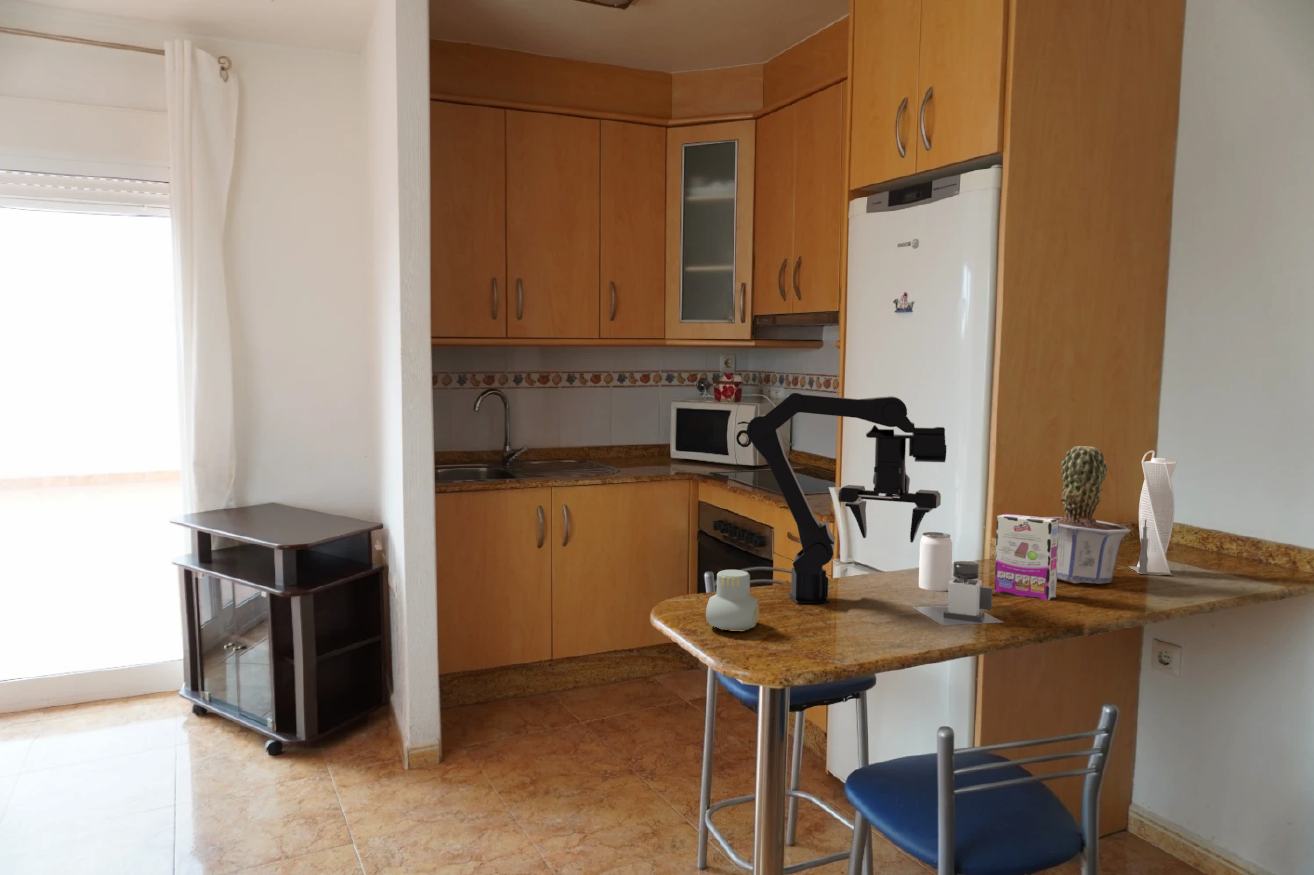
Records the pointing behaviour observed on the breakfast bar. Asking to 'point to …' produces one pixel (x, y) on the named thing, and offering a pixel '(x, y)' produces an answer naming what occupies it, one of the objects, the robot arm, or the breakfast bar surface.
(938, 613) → the slate mat
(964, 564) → the plunger
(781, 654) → the breakfast bar surface
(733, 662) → the breakfast bar surface
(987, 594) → the white square sleeve
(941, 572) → the can
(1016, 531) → the candy bar box
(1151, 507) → the skyscraper
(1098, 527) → the potted plant
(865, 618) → the breakfast bar surface
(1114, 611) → the breakfast bar surface
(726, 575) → the air freshener
